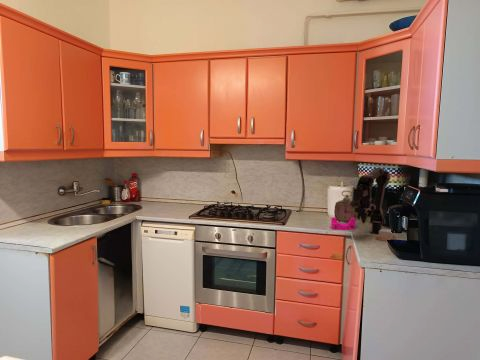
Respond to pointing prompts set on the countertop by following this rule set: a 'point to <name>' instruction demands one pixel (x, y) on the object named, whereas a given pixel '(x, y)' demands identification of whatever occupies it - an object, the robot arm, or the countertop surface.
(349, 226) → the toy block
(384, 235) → the tower top
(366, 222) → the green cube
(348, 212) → the tabletop clock
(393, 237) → the tower base
